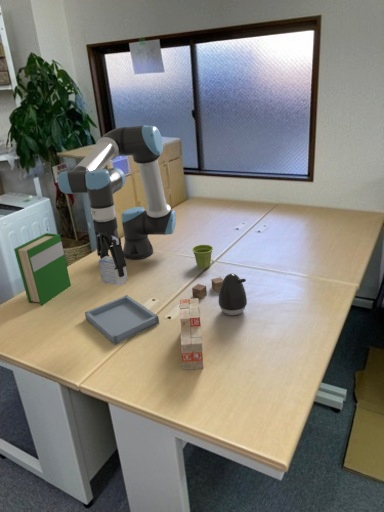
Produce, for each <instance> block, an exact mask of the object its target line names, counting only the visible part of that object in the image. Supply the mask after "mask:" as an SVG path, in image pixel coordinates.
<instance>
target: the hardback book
mask: <svg viewBox="0 0 384 512" xmlns="http://www.w3.org/2000/svg"><path fill="white" fill-rule="evenodd" d="M13 250H14V254H15V257H16V262H17V265H18V268H19V272H20V276H21V280H22V283H23V284H22V285H23V287H24V291H25V294H26V298H27V302H28V304H31V303H34V302H35V303H39V304H40V306H42V307H43V306H44V305H45V304H47V303H48V302H50V301H51V300H53V299H54V298H56V297H57V296H59V295H60V294H61V293H62V292H63V293H64V291H66V290H67V289H69V288H70V287H72V284H71V279H70V278H71V277H70V275H69V270H68V269H69V268H68V266H67V265H68V264H67V260H66V256H65V252H64V247H63V242H62V238H61V234H57V233H49V232H45V233H44V234H42V235H39V236H38V237H35V238H33V239H31V240H29V241H28V242H25V243H23V244H21V245H19V246H17V247H15V248H13ZM65 289H66V290H65ZM52 298H53V299H52Z"/></svg>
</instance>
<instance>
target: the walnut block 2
mask: <svg viewBox="0 0 384 512" xmlns="http://www.w3.org/2000/svg"><path fill="white" fill-rule="evenodd" d="M210 280H211V288H212V289H213V291H214V292H220V288H221V284H222V282H223V280H224V278H222V277H220V276H219V277H215V278H212V279H210Z"/></svg>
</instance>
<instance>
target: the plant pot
mask: <svg viewBox="0 0 384 512" xmlns="http://www.w3.org/2000/svg"><path fill="white" fill-rule="evenodd" d="M213 249H214V247H213V246H212V245H210V244H198V245H195V246H193V247H192V249H191V251H192V252H193V255H194V258H195V263H196V267H198V268H199V269H207V268H209V267H211V260H212V254H213Z"/></svg>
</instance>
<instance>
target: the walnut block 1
mask: <svg viewBox="0 0 384 512" xmlns="http://www.w3.org/2000/svg"><path fill="white" fill-rule="evenodd" d="M191 290H192V291H191V292H192V298H194V299H195V298H198V300H199V299H200V300H201V299H203V298H204V297H206V296H207V294H208V292H207V286H206V285H203V284H199V283H197V284H195V285H194V286H192V288H191Z"/></svg>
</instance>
